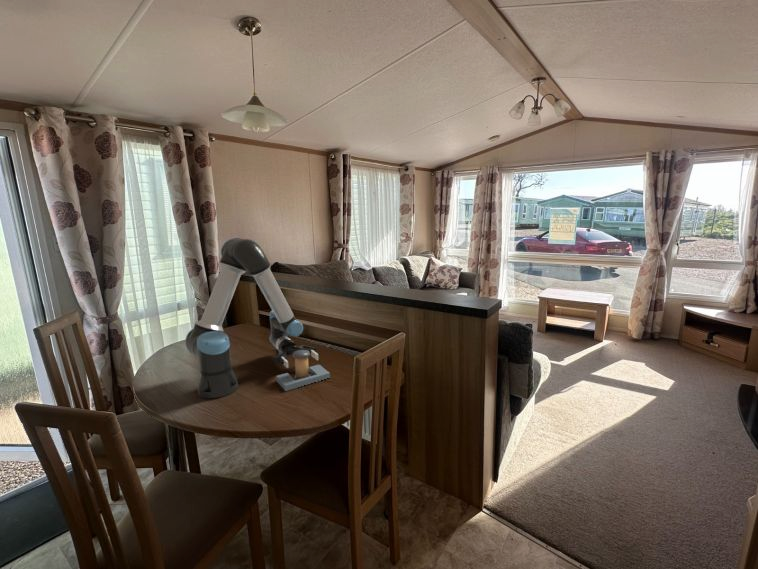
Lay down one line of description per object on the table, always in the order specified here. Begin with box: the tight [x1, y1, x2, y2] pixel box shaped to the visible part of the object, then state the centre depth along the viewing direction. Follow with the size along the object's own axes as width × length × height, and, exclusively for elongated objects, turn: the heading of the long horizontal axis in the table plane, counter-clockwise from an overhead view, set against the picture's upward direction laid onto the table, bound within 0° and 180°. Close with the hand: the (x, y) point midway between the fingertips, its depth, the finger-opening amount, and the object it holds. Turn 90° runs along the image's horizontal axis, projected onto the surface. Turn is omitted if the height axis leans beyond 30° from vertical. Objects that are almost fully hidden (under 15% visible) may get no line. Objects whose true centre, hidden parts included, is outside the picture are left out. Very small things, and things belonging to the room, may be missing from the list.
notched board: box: [275, 364, 331, 392], centre depth 154 cm, size 20×11×2 cm, turn 124°
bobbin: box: [292, 350, 312, 380], centre depth 154 cm, size 7×7×12 cm
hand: (302, 361), depth 153 cm, fingers open, 13 cm apart
